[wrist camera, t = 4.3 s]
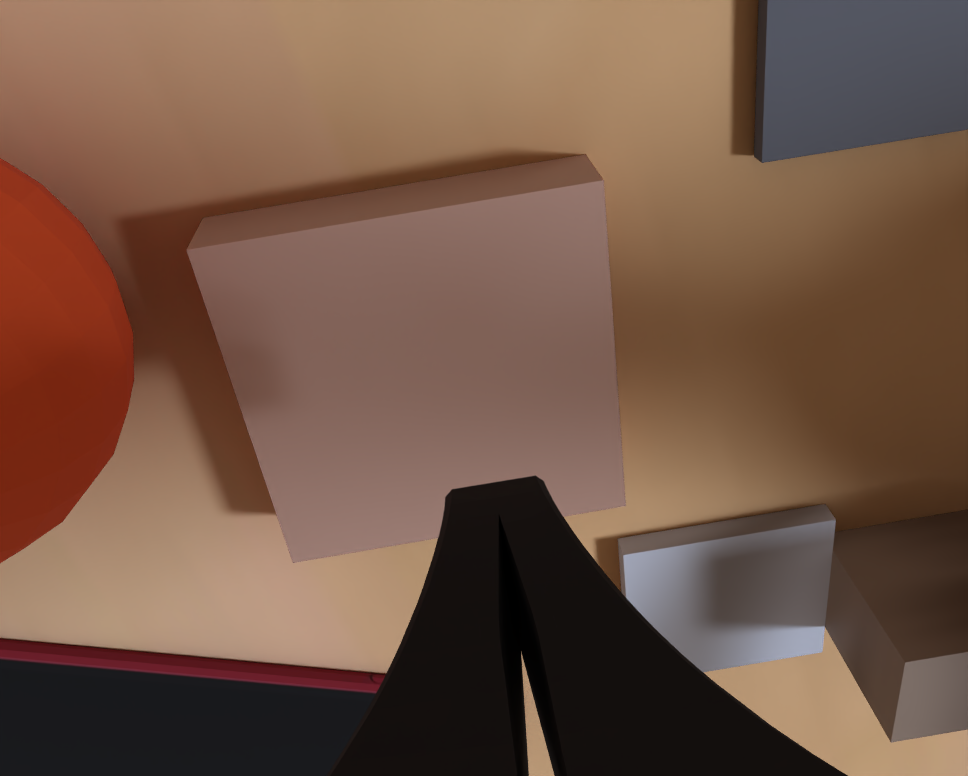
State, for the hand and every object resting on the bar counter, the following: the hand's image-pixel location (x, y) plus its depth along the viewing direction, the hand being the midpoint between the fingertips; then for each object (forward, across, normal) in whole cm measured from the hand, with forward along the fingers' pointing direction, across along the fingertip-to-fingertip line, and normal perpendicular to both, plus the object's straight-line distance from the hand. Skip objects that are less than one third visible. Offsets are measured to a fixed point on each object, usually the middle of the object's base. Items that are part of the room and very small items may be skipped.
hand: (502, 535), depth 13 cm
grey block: (+6, -8, +8) cm, 13 cm away
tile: (+5, -3, 0) cm, 6 cm away
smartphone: (+6, +8, +11) cm, 15 cm away
